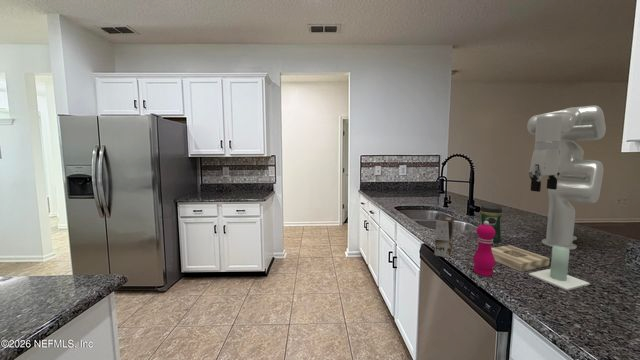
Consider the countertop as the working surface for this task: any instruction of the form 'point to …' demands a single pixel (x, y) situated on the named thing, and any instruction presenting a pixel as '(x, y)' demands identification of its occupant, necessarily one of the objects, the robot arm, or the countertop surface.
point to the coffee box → (444, 236)
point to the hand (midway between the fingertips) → (543, 190)
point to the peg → (559, 263)
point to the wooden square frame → (518, 258)
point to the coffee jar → (492, 218)
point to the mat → (566, 285)
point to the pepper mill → (484, 250)
